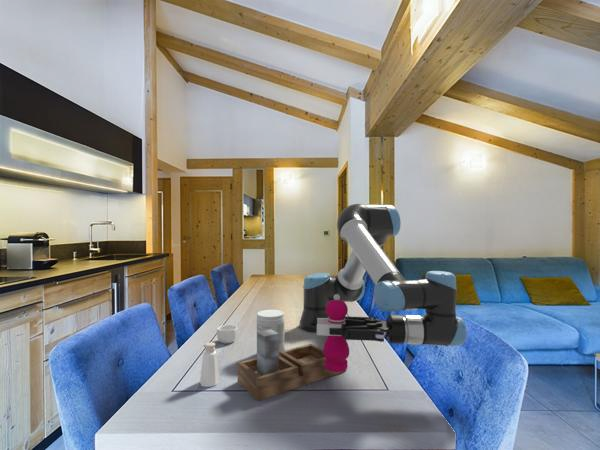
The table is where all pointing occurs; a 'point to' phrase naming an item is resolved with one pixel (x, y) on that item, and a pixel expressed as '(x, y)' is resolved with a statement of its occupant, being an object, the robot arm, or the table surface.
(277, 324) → the supplement tub
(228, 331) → the teacup
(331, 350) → the pepper mill
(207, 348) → the pepper shaker
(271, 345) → the wooden condiment caddy
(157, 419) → the table surface
